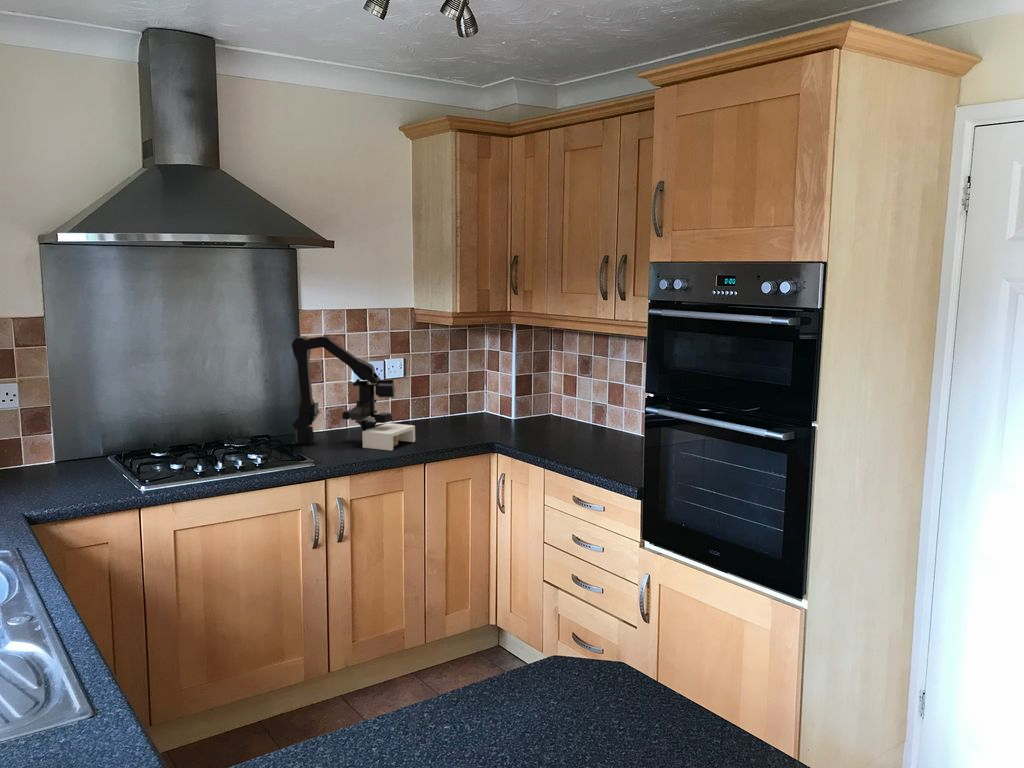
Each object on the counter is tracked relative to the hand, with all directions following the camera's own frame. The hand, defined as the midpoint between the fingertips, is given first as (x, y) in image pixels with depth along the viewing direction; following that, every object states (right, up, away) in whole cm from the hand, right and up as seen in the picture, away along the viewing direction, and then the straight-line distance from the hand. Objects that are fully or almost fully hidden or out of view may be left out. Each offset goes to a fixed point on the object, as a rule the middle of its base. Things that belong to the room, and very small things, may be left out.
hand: (367, 438), depth 310 cm
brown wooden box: (+6, -2, -2) cm, 7 cm away
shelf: (+8, -2, -2) cm, 9 cm away
